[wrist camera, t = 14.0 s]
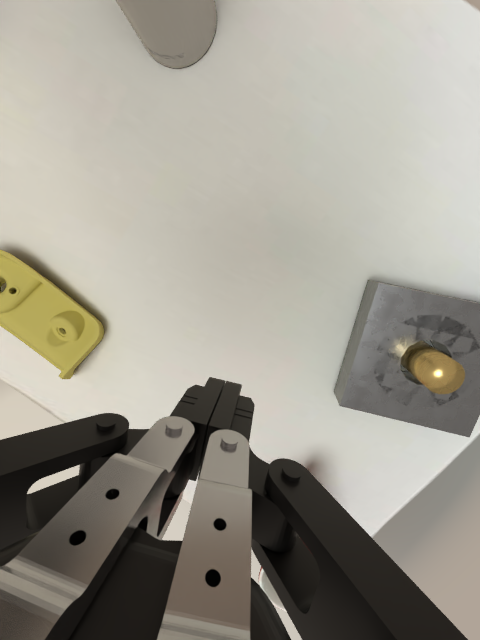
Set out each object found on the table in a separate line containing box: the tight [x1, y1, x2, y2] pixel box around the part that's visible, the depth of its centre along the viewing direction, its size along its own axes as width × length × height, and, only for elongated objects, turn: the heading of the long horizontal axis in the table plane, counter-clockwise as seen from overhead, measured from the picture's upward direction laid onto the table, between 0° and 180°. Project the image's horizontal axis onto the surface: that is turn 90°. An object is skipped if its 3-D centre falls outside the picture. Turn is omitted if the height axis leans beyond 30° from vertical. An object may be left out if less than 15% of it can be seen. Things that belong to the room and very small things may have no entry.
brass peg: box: [401, 340, 465, 394], centre depth 34 cm, size 4×4×8 cm
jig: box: [334, 280, 480, 437], centre depth 36 cm, size 16×16×4 cm
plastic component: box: [0, 250, 104, 379], centre depth 42 cm, size 20×7×10 cm
